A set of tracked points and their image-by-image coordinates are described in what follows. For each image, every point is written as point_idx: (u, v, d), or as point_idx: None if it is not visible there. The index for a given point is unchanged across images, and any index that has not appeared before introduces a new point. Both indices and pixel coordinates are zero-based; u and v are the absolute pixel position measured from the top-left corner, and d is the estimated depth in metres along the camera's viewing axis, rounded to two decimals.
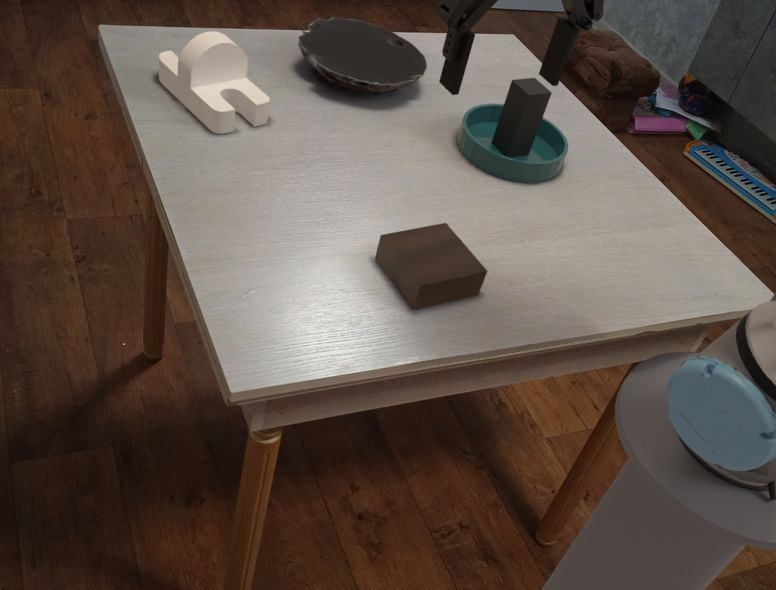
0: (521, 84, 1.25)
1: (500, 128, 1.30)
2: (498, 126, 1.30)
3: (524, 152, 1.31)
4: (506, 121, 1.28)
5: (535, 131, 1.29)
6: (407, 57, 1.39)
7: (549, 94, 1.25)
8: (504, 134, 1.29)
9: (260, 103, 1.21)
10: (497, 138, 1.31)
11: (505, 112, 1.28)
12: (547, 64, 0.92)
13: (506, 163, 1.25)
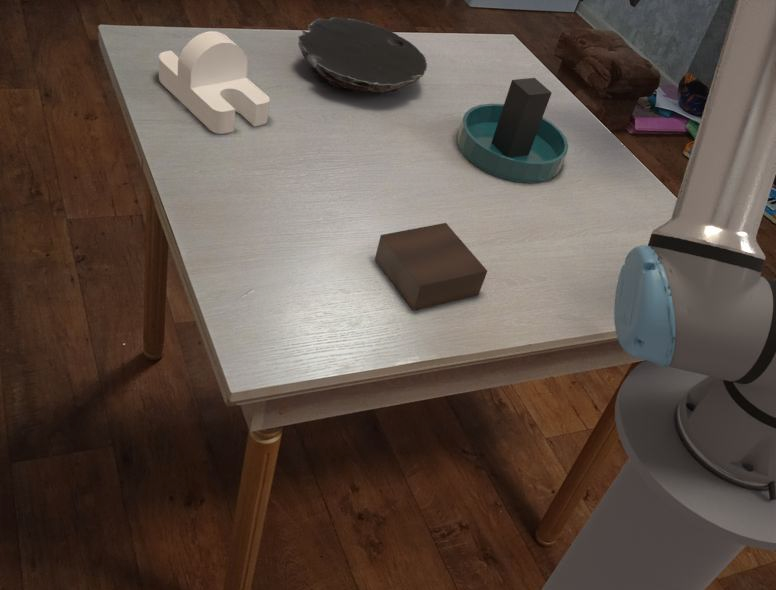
0: (521, 84, 1.25)
1: (500, 128, 1.30)
2: (498, 126, 1.30)
3: (524, 152, 1.31)
4: (506, 121, 1.28)
5: (535, 131, 1.29)
6: (407, 57, 1.39)
7: (549, 94, 1.25)
8: (504, 134, 1.29)
9: (260, 103, 1.21)
10: (497, 138, 1.31)
11: (505, 112, 1.28)
12: None
13: (506, 163, 1.25)
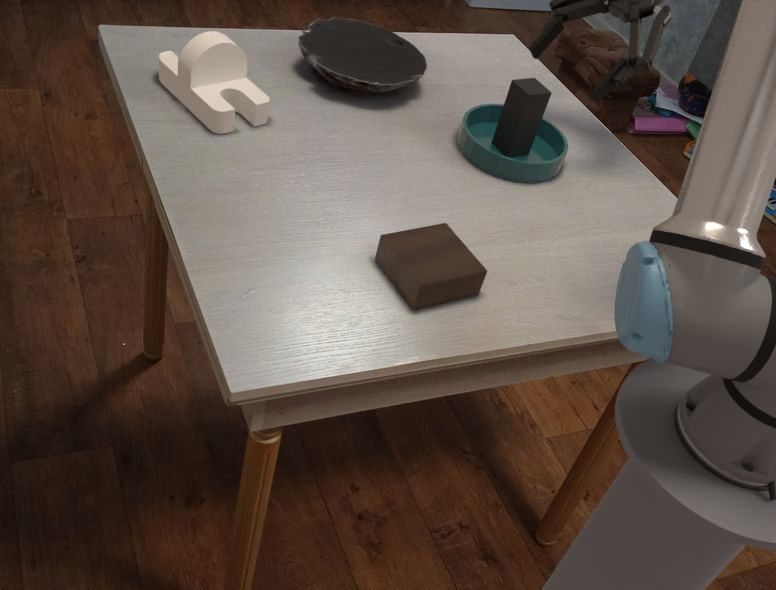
0: (521, 84, 1.25)
1: (500, 128, 1.30)
2: (498, 126, 1.30)
3: (524, 152, 1.31)
4: (506, 121, 1.28)
5: (535, 131, 1.29)
6: (407, 57, 1.39)
7: (549, 94, 1.25)
8: (504, 134, 1.29)
9: (260, 103, 1.21)
10: (497, 138, 1.31)
11: (505, 112, 1.28)
12: None
13: (506, 163, 1.25)
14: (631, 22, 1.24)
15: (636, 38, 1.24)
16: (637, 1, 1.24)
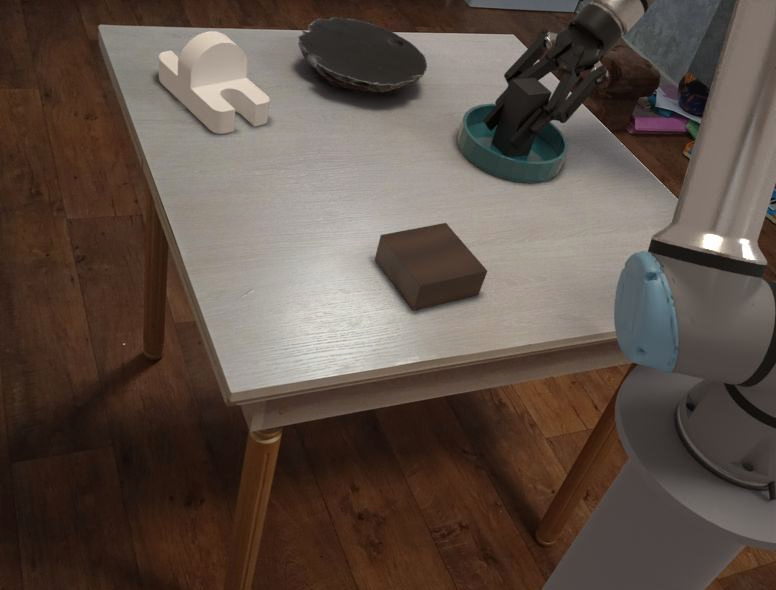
0: (521, 84, 1.25)
1: (500, 128, 1.30)
2: (498, 126, 1.30)
3: (524, 152, 1.31)
4: (506, 121, 1.28)
5: None
6: (407, 57, 1.39)
7: (549, 94, 1.25)
8: (504, 134, 1.29)
9: (260, 103, 1.21)
10: (497, 138, 1.31)
11: (505, 112, 1.28)
12: None
13: (506, 163, 1.25)
14: (565, 73, 1.25)
15: (561, 90, 1.24)
16: (579, 54, 1.24)
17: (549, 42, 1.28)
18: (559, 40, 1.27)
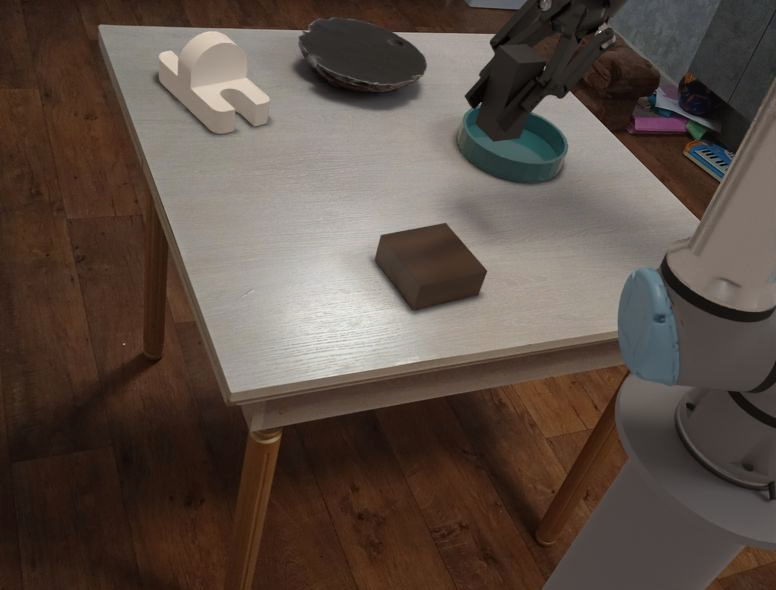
0: (510, 51, 1.02)
1: (485, 106, 1.08)
2: (483, 103, 1.08)
3: (514, 134, 1.09)
4: (492, 97, 1.06)
5: None
6: (407, 57, 1.39)
7: (543, 63, 1.02)
8: (489, 113, 1.07)
9: (260, 103, 1.21)
10: (482, 118, 1.09)
11: (491, 86, 1.06)
12: None
13: (506, 163, 1.25)
14: (563, 37, 1.03)
15: (558, 59, 1.02)
16: (580, 15, 1.02)
17: (544, 2, 1.06)
18: None
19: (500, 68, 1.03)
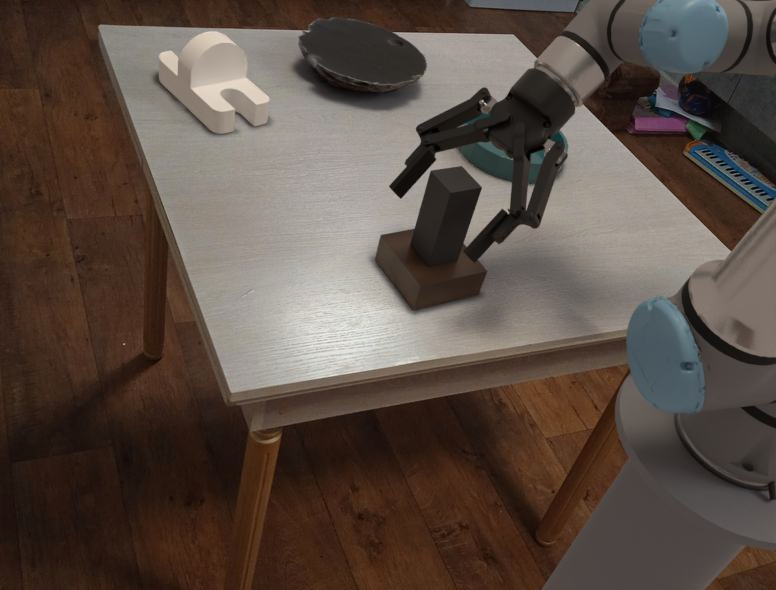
0: (443, 176, 0.95)
1: (419, 228, 1.01)
2: (417, 226, 1.01)
3: (451, 258, 1.02)
4: (425, 221, 0.99)
5: (464, 233, 1.00)
6: (407, 57, 1.39)
7: (478, 189, 0.96)
8: (423, 236, 1.00)
9: (260, 103, 1.21)
10: (417, 240, 1.02)
11: (424, 209, 0.99)
12: None
13: (506, 163, 1.25)
14: (515, 161, 0.95)
15: (520, 183, 0.94)
16: (522, 134, 0.94)
17: (484, 108, 0.99)
18: (495, 114, 0.97)
19: (433, 194, 0.97)
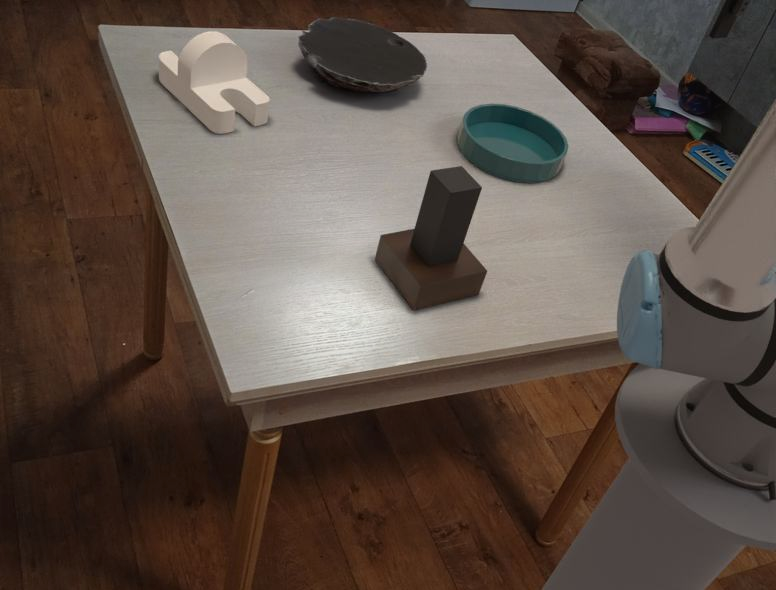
0: (443, 176, 0.95)
1: (419, 228, 1.01)
2: (417, 226, 1.01)
3: (451, 258, 1.02)
4: (425, 221, 0.99)
5: (464, 233, 1.00)
6: (407, 57, 1.39)
7: (478, 189, 0.96)
8: (423, 236, 1.00)
9: (260, 103, 1.21)
10: (417, 240, 1.02)
11: (424, 209, 0.99)
12: None
13: (506, 163, 1.25)
14: None
15: None
16: None
17: None
18: None
19: (433, 194, 0.97)
